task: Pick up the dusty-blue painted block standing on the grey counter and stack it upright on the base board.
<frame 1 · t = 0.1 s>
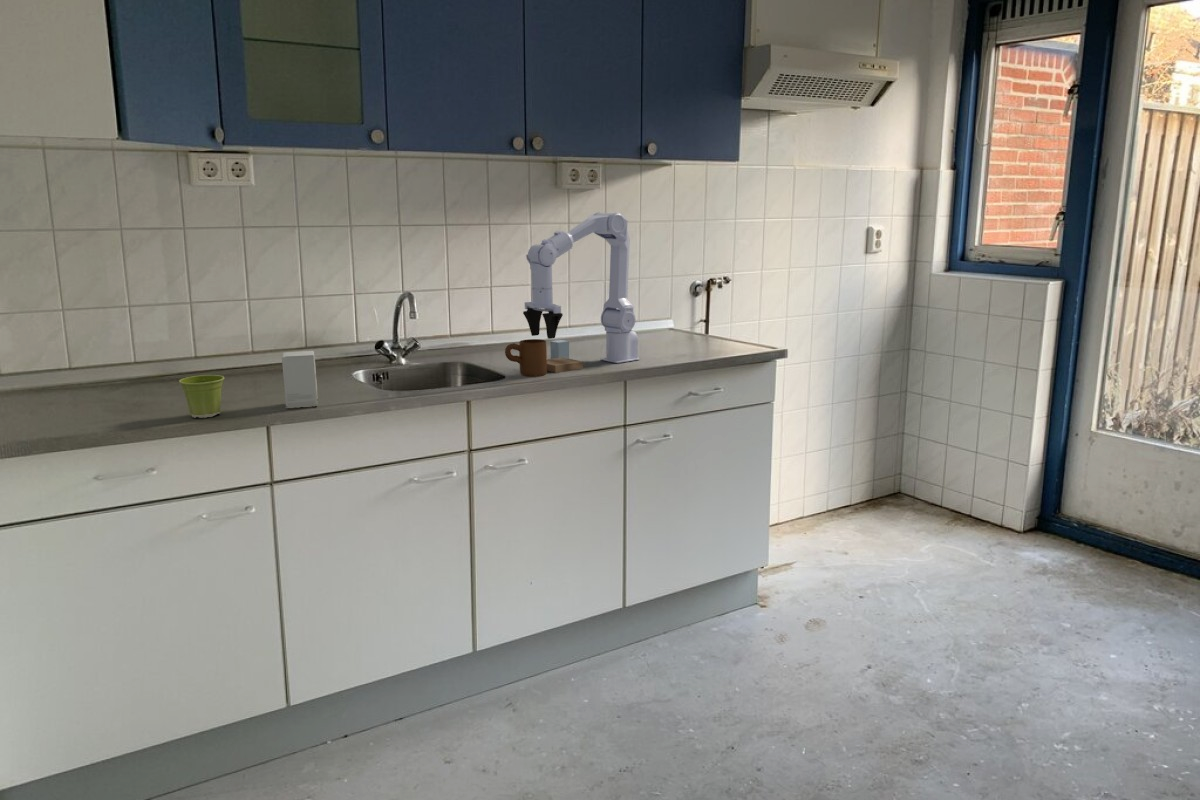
hand: (543, 336, 251), 10 cm above the worktop, fingers open, 7 cm apart
plant pot: (205, 416, 204), on the worktop
supplement box: (302, 406, 215), on the worktop
mug: (526, 375, 249), on the worktop
block: (560, 360, 272), on the worktop
base: (558, 368, 259), on the worktop
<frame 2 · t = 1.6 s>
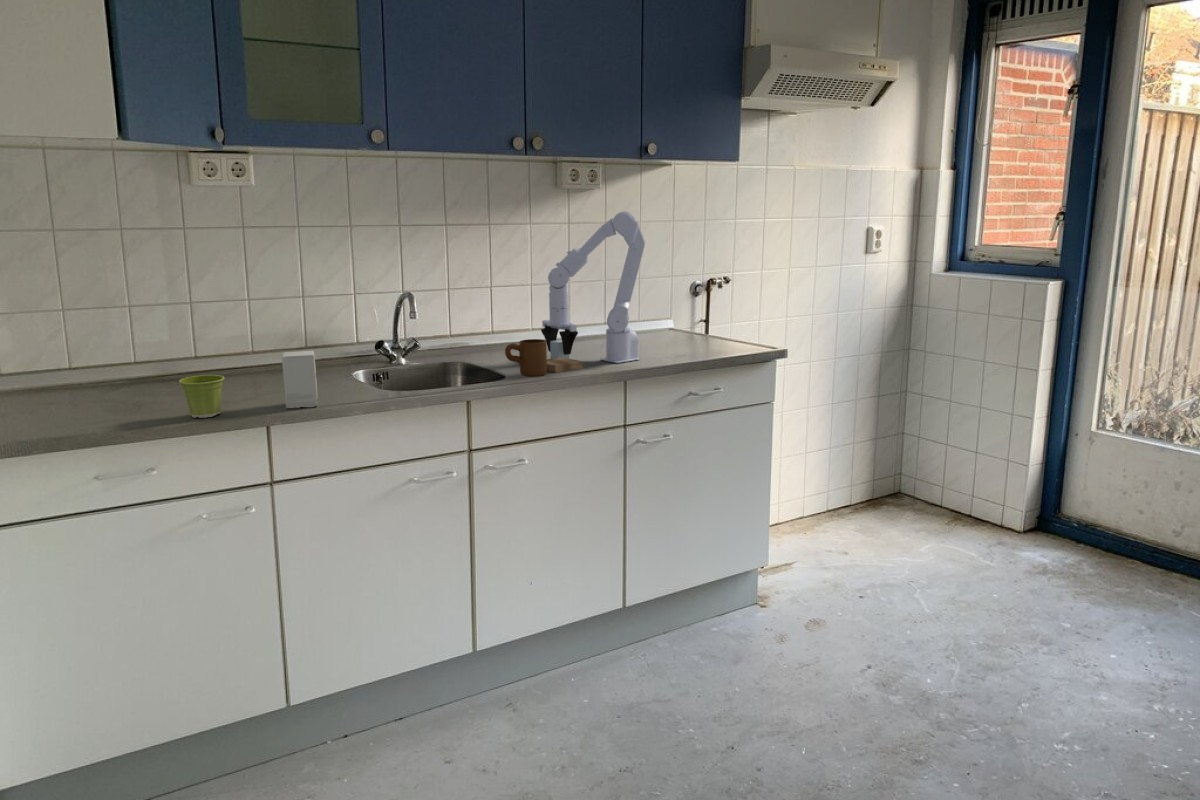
hand: (559, 352, 271), 2 cm above the worktop, fingers open, 7 cm apart
nothing on the worktop moved.
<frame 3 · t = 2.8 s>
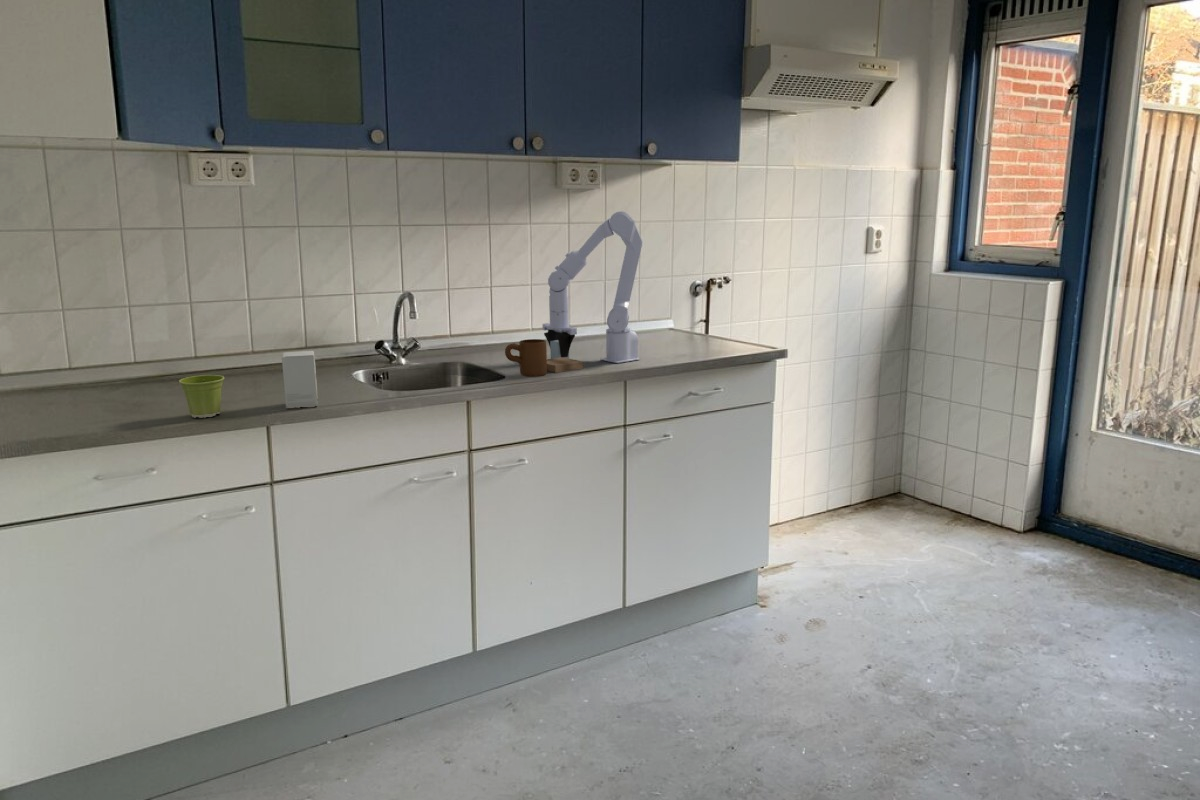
hand: (559, 356, 271), 1 cm above the worktop, fingers closed on block, 4 cm apart
block: (559, 360, 272), on the worktop, touching gripper
everything else where it was.
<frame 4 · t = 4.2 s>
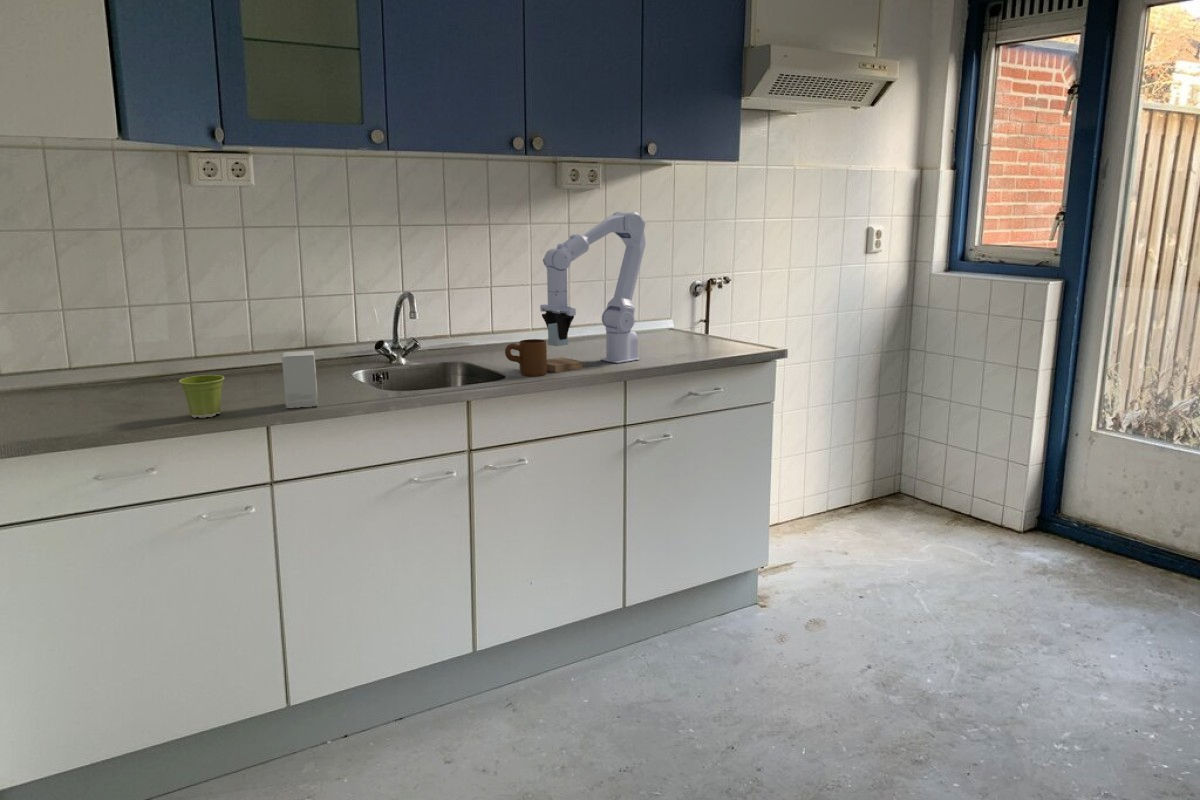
hand: (558, 338, 259), 8 cm above the worktop, fingers closed on block, 4 cm apart
block: (558, 344, 259), point 7 cm above the worktop, touching gripper
everything else where it was.
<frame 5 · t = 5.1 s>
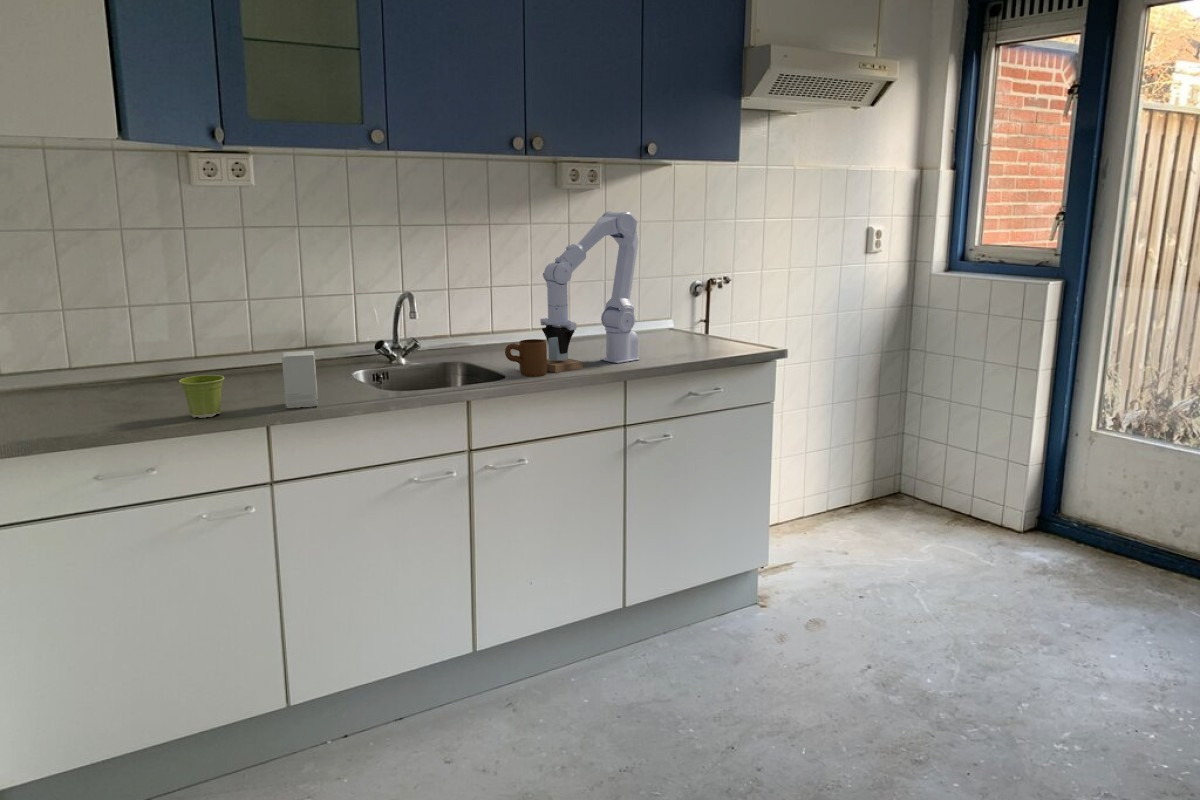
hand: (558, 352, 258), 5 cm above the worktop, fingers closed on block, 4 cm apart
block: (558, 358, 258), point 3 cm above the worktop, touching gripper
everything else where it was.
when the fingers open (5 cm above the worktop, at t = 5.8 s): block stays where it is, resting on base.
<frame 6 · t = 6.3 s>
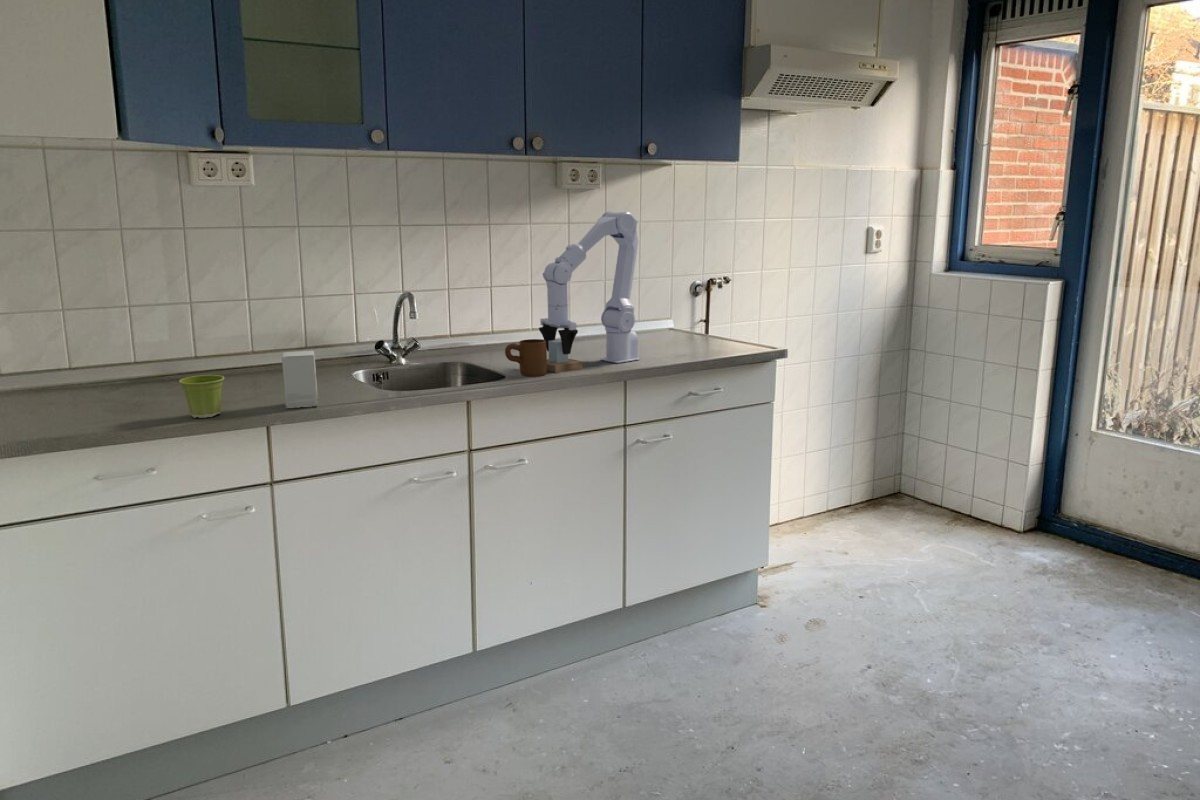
hand: (558, 352, 258), 5 cm above the worktop, fingers open, 7 cm apart
block: (558, 361, 259), point 2 cm above the worktop, touching base
everything else where it was.
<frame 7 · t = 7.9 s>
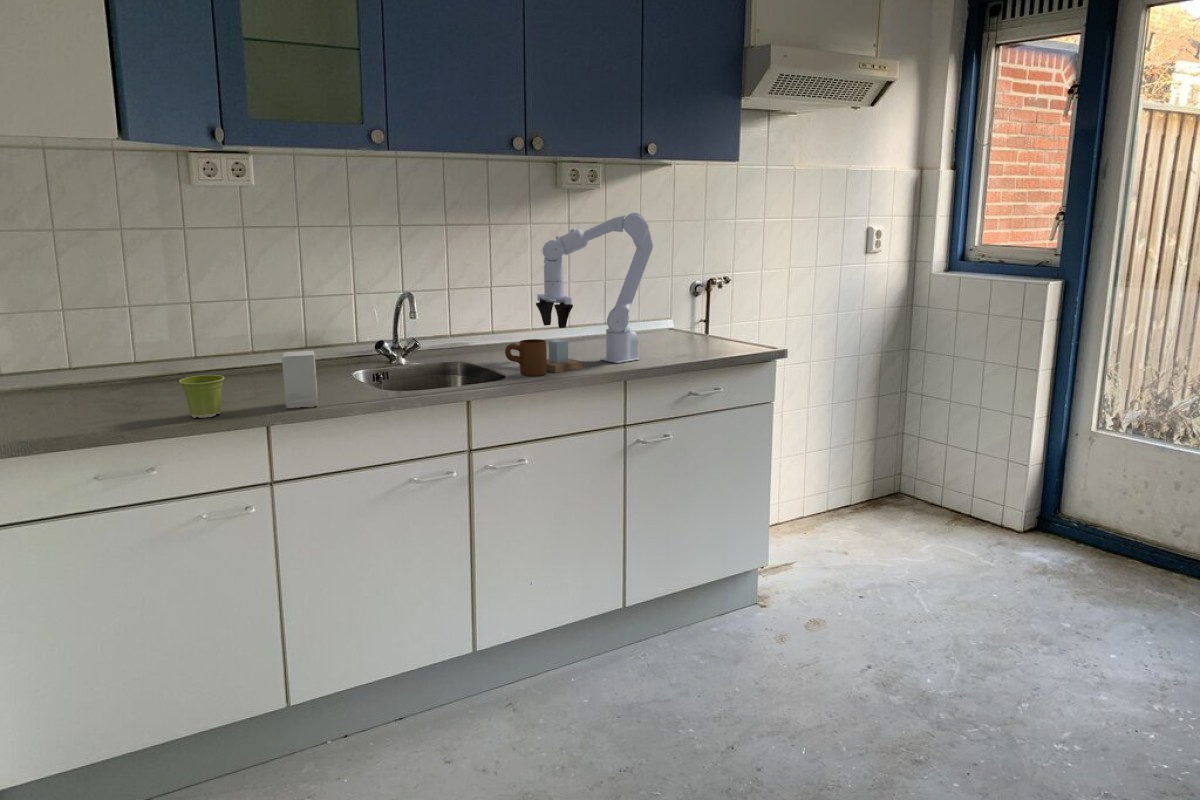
hand: (554, 326, 269), 10 cm above the worktop, fingers open, 7 cm apart
nothing on the worktop moved.
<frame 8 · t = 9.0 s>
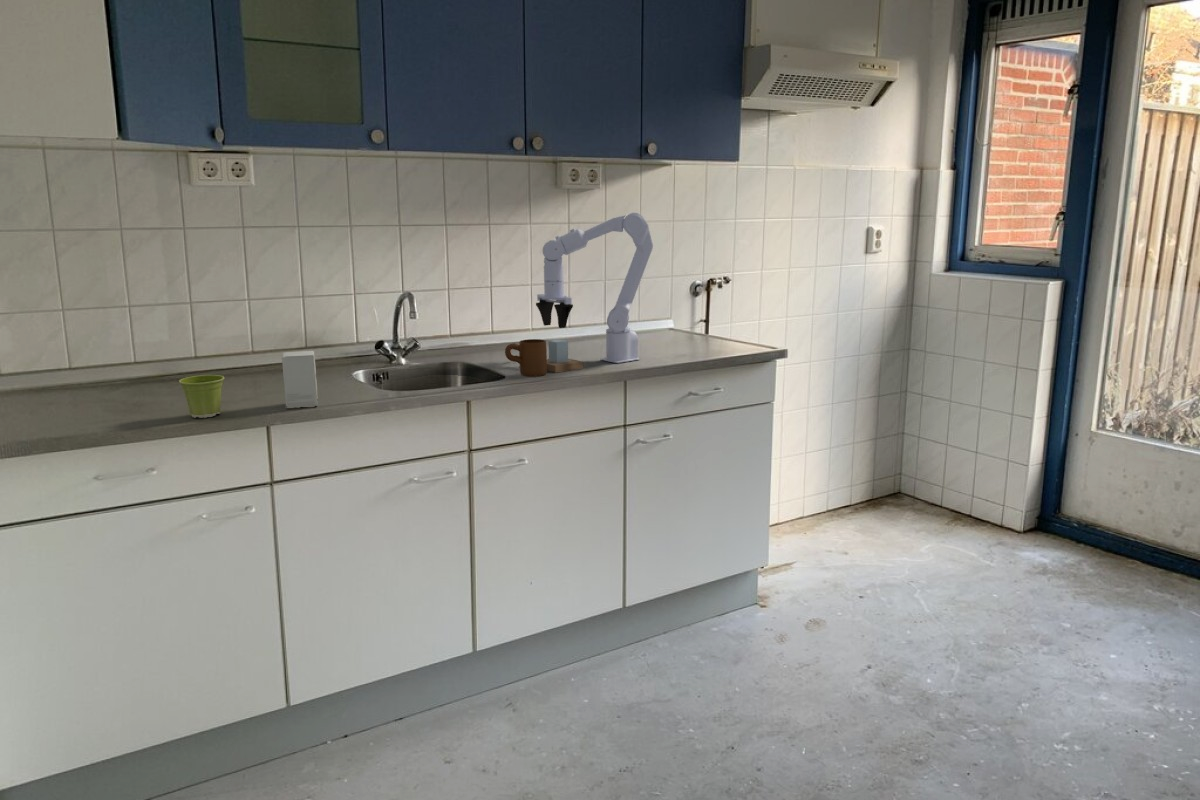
hand: (554, 326, 269), 10 cm above the worktop, fingers open, 7 cm apart
nothing on the worktop moved.
at the end: block inside the target area on the base (0.1 cm from its centre), point 2.0 cm above the base's base; block tilted 0°; the gripper is holding nothing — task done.
